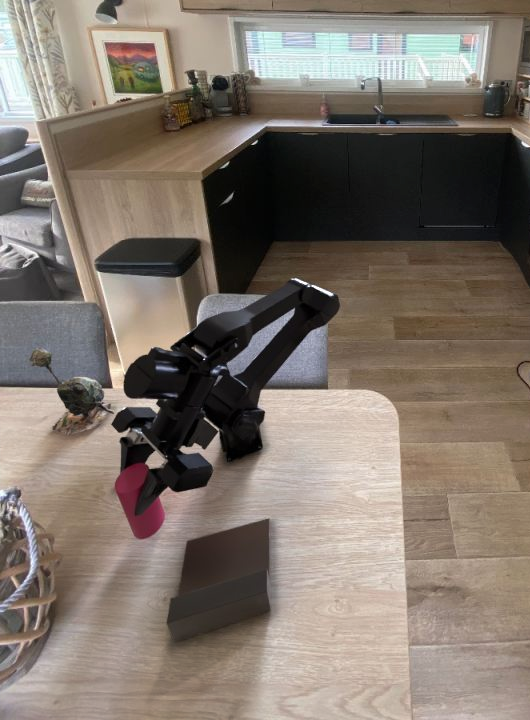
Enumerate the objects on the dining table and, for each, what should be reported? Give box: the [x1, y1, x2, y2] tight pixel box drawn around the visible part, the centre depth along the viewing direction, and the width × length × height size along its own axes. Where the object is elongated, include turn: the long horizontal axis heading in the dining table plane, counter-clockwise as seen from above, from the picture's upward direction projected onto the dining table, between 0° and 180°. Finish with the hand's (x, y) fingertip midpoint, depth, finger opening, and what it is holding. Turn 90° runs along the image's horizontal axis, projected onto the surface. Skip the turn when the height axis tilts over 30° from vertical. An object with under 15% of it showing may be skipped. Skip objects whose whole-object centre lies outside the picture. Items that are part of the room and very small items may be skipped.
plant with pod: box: [28, 347, 116, 436], centre depth 75 cm, size 8×11×20 cm
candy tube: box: [114, 463, 166, 540], centre depth 59 cm, size 4×4×11 cm
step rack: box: [165, 517, 272, 643], centre depth 55 cm, size 10×12×5 cm
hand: (129, 505), depth 57 cm, fingers closed on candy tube, 4 cm apart
